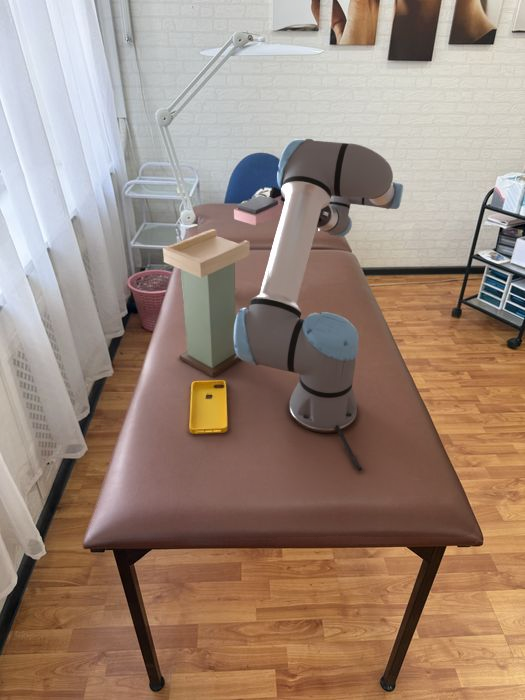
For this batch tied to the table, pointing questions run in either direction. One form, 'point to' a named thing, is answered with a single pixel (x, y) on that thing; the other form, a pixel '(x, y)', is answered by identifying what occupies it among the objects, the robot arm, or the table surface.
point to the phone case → (208, 407)
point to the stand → (208, 297)
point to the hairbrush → (258, 210)
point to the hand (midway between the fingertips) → (277, 193)
